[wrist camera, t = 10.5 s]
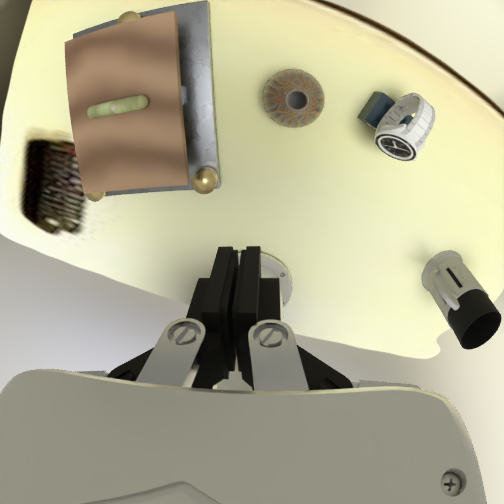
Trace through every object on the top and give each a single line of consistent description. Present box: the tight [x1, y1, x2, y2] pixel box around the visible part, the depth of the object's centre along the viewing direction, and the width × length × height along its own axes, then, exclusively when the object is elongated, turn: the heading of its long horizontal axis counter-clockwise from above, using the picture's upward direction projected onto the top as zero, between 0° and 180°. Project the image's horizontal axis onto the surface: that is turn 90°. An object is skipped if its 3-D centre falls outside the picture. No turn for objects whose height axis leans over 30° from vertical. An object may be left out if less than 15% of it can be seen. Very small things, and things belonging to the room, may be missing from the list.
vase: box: [263, 69, 324, 128], centre depth 31 cm, size 7×7×9 cm
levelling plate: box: [65, 11, 190, 194], centre depth 29 cm, size 20×14×3 cm
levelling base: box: [73, 0, 221, 202], centre depth 33 cm, size 25×19×6 cm
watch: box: [358, 92, 435, 161], centre depth 30 cm, size 6×8×11 cm
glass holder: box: [422, 251, 501, 349], centre depth 39 cm, size 9×14×15 cm, turn 60°
